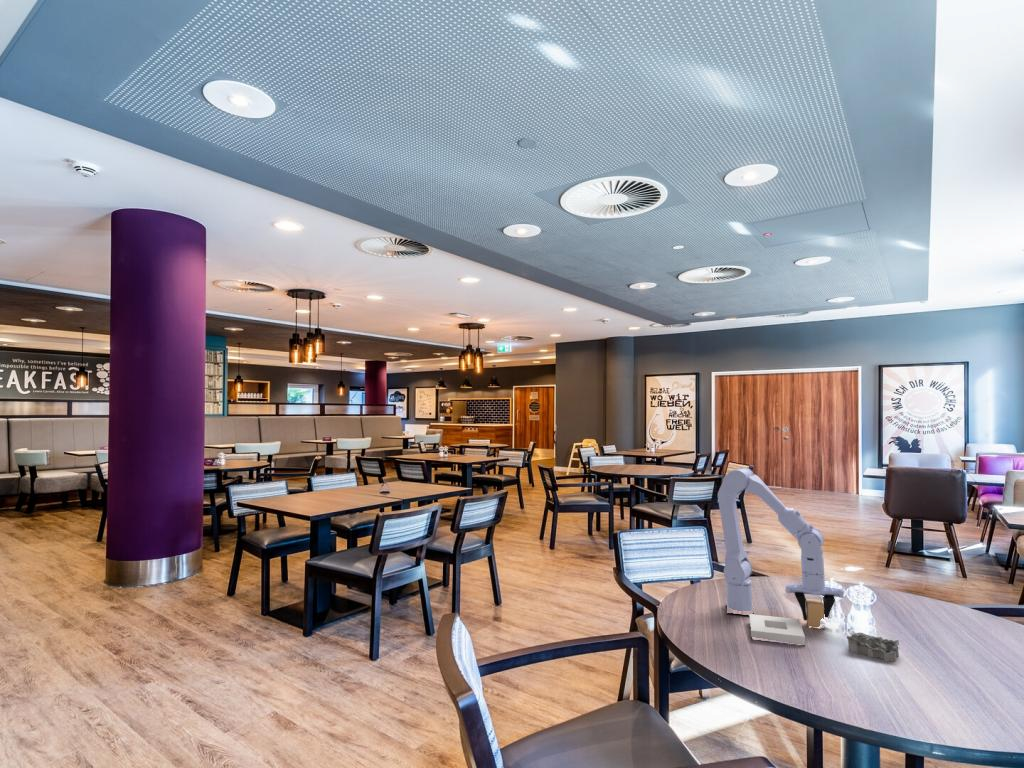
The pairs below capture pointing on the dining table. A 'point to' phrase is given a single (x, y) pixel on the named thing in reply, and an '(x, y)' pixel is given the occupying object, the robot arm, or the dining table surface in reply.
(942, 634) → the dining table surface
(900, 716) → the dining table surface
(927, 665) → the dining table surface
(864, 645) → the egg carton
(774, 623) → the socket plate
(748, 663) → the dining table surface
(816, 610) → the peg
